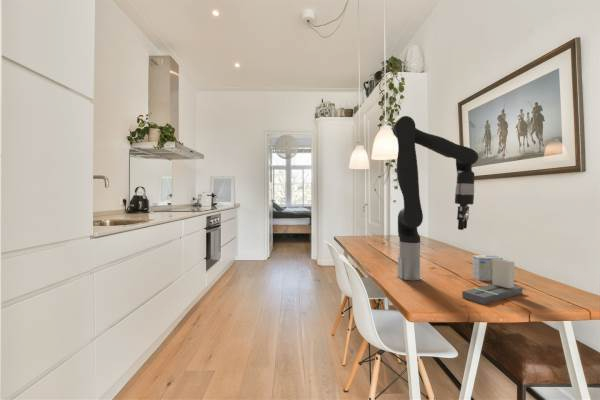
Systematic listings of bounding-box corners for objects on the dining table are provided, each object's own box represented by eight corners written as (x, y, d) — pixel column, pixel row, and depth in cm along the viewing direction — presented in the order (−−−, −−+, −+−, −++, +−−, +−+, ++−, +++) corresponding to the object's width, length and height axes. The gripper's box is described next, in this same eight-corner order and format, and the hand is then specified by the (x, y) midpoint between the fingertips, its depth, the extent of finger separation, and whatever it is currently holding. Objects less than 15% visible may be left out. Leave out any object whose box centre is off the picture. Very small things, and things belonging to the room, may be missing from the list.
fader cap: (508, 288, 115) (508, 262, 114) (492, 284, 120) (492, 259, 120) (514, 286, 116) (514, 261, 116) (497, 282, 122) (498, 258, 122)
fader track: (485, 305, 105) (485, 297, 105) (460, 297, 113) (460, 290, 113) (524, 294, 117) (524, 287, 117) (499, 287, 125) (499, 281, 125)
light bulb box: (495, 277, 141) (495, 255, 141) (503, 281, 135) (503, 258, 135) (471, 277, 142) (471, 254, 142) (478, 280, 136) (478, 257, 136)
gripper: (458, 193, 144) (456, 227, 144) (452, 193, 132) (450, 229, 133) (476, 194, 139) (473, 228, 139) (471, 193, 128) (469, 231, 128)
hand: (462, 229), depth 136 cm, fingers open, 8 cm apart
